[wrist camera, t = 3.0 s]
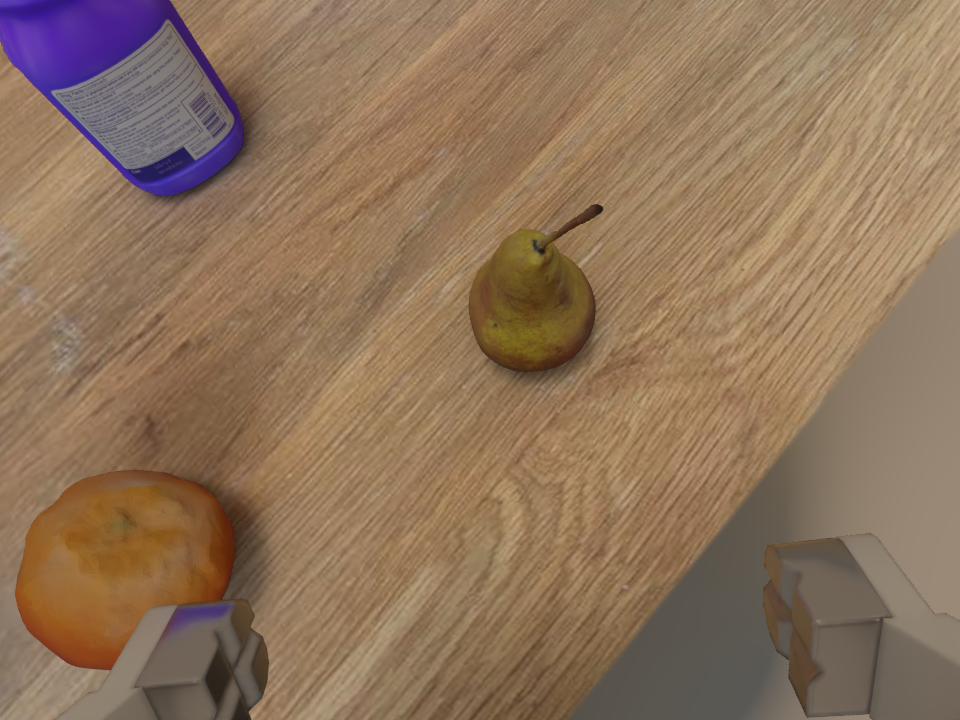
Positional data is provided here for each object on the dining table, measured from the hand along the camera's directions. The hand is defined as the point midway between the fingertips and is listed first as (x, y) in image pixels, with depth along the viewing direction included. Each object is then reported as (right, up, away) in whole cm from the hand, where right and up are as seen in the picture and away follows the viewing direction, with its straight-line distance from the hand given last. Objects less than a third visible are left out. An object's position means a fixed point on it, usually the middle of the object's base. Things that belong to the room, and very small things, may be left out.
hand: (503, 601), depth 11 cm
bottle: (-17, +16, +29) cm, 37 cm away
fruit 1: (-14, -6, +21) cm, 26 cm away
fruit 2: (+2, +5, +23) cm, 24 cm away
